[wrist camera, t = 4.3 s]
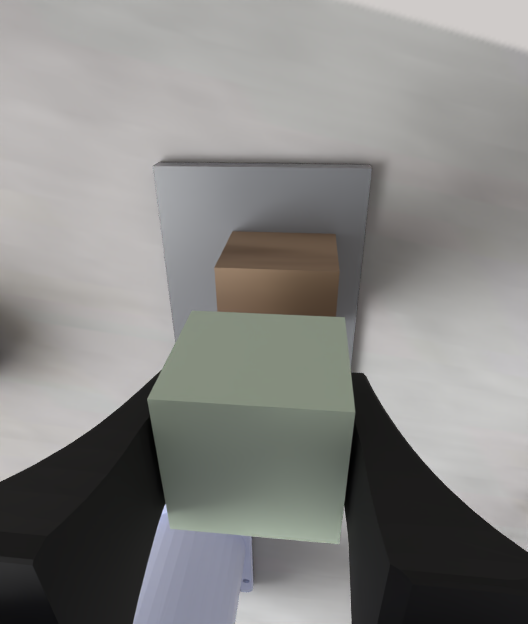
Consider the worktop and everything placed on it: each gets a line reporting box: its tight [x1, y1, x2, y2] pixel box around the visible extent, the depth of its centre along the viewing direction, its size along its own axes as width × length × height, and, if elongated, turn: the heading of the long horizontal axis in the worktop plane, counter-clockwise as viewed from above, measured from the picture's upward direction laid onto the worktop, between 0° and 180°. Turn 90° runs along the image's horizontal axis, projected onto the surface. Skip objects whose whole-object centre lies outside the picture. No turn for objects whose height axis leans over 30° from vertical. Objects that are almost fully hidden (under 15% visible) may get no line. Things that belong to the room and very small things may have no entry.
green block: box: [147, 311, 355, 544], centre depth 12 cm, size 4×4×4 cm
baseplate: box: [153, 162, 372, 369], centre depth 22 cm, size 16×9×1 cm, turn 1°
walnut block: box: [214, 231, 340, 317], centre depth 19 cm, size 4×4×4 cm
